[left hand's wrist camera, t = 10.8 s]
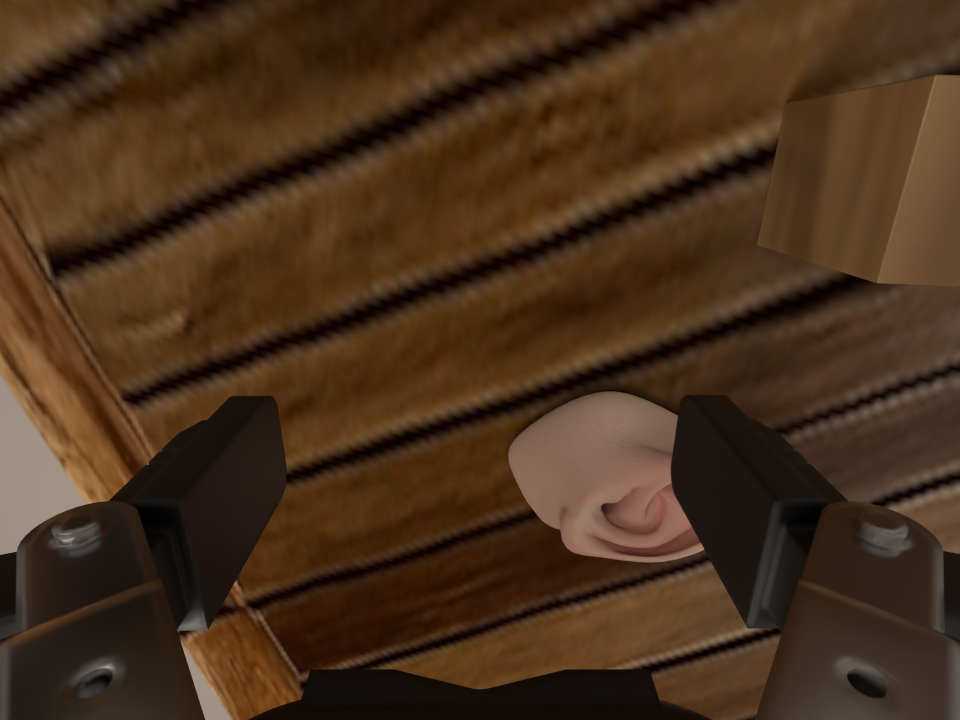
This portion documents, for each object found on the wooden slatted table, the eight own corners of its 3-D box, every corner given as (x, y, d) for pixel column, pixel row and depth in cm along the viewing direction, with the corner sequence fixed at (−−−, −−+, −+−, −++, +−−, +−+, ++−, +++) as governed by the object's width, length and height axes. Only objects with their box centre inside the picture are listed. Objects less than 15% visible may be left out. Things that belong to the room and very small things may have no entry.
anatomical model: (479, 510, 33) (614, 369, 30) (480, 475, 37) (599, 346, 34) (640, 622, 36) (779, 503, 33) (626, 578, 40) (749, 468, 36)
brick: (756, 245, 32) (877, 283, 22) (785, 102, 29) (936, 74, 20) (838, 248, 32) (995, 288, 22) (874, 106, 29) (1070, 79, 20)
